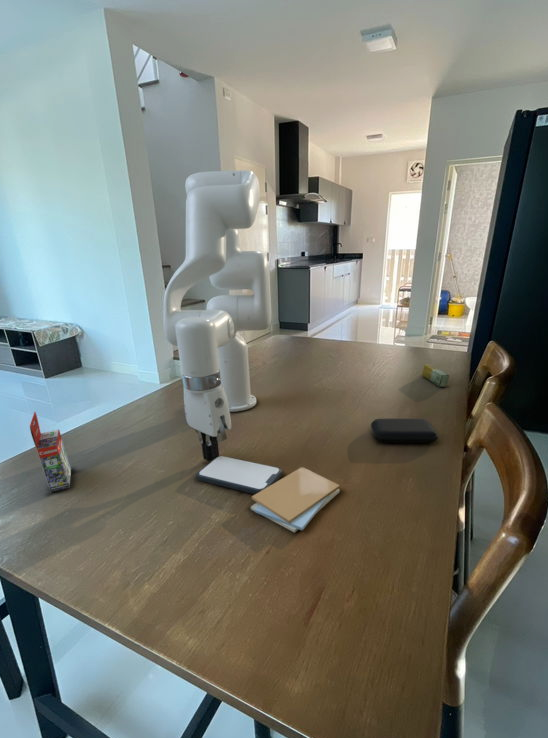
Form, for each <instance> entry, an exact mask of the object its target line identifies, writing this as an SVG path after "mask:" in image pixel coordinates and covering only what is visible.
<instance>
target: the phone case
mask: <svg viewBox="0 0 548 738" xmlns="http://www.w3.org/2000/svg"><path fill="white" fill-rule="evenodd" d="M282 471H283V470H282V469H281V468H280V467H276V466H272V465H267V464H262V463H258V462H253V461H248V460H244V459H239V458H235V457H230V456H225V455H219V456H218V457H216V458H214V459H213V460H211V461H209V462H208V463H207V464H206V465H205V466H203V467H202V468H201V469H200V470H199V471H197V474H196V477H197V480H198V481H200V482H204V483H207V484H211V485H216V486H219V487H225V488H228V489H232V490H235V491H239V492H244V493H247V494H251V495H255V494H257V493H259V492H260V491H262V490H264V489H265V488H267V487H269V486H270V485H272V484H274V483H276V482H277V481H279V480H280V478H281V477H282V476H283V473H282Z"/></svg>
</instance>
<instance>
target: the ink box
mask: <svg viewBox="0 0 548 738" xmlns="http://www.w3.org/2000/svg"><path fill="white" fill-rule="evenodd" d="M29 431H30V435H31V438H32V441H33V444H34V446H35V449H36V453H37V456H38V458H39V462H40V465H41V468H42V471H43V474H44V477H45V479H46V483H47V487H48V490H49V492H50V493H53V492H57V491H61V490H65V489H69V488H70V487H71V475H72V467H71V465H70V461H69V458H68V454H67V451H66V447H65V445H64V441H63V438H62V435H61V432H60V429H55V430H48V431H43V432H41V429H40V424H39V420H38V416H37V412H36V411H34V412H33V415H32V418H31V421H30V424H29Z"/></svg>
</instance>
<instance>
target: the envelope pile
mask: <svg viewBox="0 0 548 738" xmlns="http://www.w3.org/2000/svg"><path fill="white" fill-rule="evenodd" d="M340 487H341V485H340V484H338V483H336V482H335V481H332V480H330V479H328V478H326V477H324V476H323V475H320V474H318V473H316V472H313V471H311V470H310V469H308V468H307V467H303V466H301V467H299V468H298V469H296V470H294V471H292V472H291V473H289V474H287V475H286V476H284V477H282V478H281V479H278V481H277V482H276V483H274V484H272V485H270V486H269V487H267V488H265V489H264V490H262V491H260V492H259V493H257V494H252V496H251V500H252V501H254V502H255V503H254V504H253V505H250V510H251V511H253V512H254V513H255V514H258V515H261V516H262V517H264V518H266V519H268V520H270V521H272V522H274V523H275V524H278V525H280V526H281V527H283V528H285V529H287V530H288V531H291V532H293V533H294V534H295V533H296V532H298V531H304V529H305V528H306V527H307V526H308V524H309V523H310V522H311V520H312V519H313V518H314V517H315V516H316V515H317V514H318V513H319V512H320V511H321V510H322V509H323V508H324V507H325V506H326V505H327V504H328V503H330V501H331V500H332V499H334V498H335V497H336V496H337V495H338V494H340V492H341V490H340Z"/></svg>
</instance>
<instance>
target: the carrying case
mask: <svg viewBox="0 0 548 738" xmlns="http://www.w3.org/2000/svg"><path fill="white" fill-rule="evenodd" d="M370 428H371V431H372V434H373V437H374V439H375V440H376V441H377V442H378V443H383V444H432V443H435V442H436V441H437V440H438V439H439V433H438V432H437V430H436V429H435V428H434V426H433V425H432V423H431V422H430V421H429V420H427V419H426V418H400V417H399V418H397V417H396V418H394V417H393V418H391V417H390V418H388V417H387V418H375V419H374V420H373V421H372V422H371V423H370Z"/></svg>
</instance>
